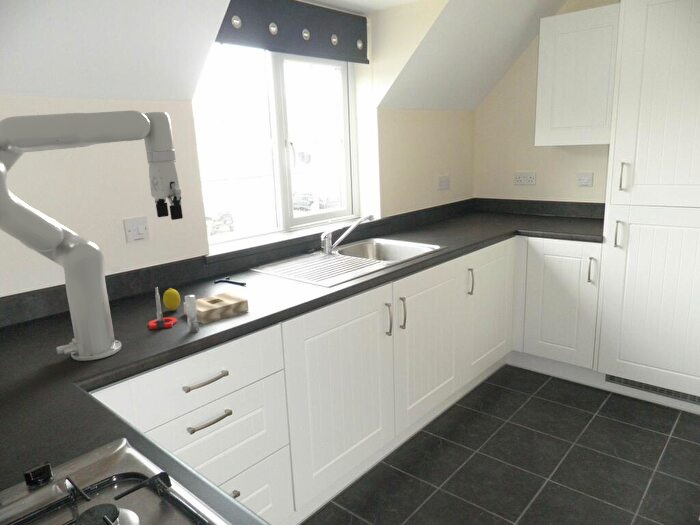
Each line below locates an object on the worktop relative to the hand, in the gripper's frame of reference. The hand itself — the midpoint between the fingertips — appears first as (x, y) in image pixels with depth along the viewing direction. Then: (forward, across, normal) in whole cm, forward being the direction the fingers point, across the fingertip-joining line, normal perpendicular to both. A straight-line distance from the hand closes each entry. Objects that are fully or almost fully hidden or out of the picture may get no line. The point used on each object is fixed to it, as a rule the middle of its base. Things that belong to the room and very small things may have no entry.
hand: (170, 217), depth 151 cm
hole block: (+34, -7, +14) cm, 38 cm away
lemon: (+34, -21, +5) cm, 40 cm away
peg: (+34, +4, +1) cm, 34 cm away
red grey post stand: (+34, -10, -3) cm, 36 cm away
